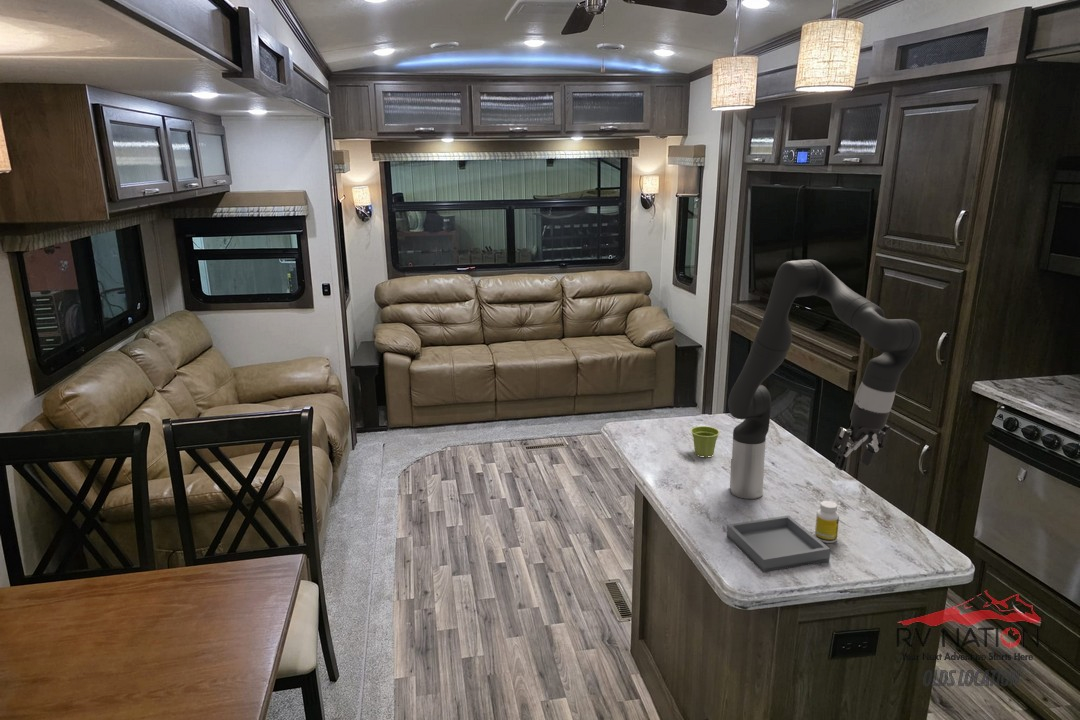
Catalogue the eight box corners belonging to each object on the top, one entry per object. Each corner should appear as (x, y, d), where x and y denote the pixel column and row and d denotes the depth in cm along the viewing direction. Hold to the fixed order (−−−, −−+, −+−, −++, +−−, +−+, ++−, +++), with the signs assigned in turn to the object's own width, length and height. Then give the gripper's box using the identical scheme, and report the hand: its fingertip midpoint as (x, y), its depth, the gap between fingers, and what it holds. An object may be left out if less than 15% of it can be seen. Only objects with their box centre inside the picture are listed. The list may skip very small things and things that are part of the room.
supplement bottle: (839, 544, 179) (842, 509, 176) (816, 542, 180) (819, 508, 177) (834, 534, 184) (837, 500, 181) (813, 532, 185) (815, 498, 182)
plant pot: (722, 452, 239) (723, 428, 236) (713, 462, 231) (713, 437, 229) (696, 447, 243) (696, 424, 241) (686, 457, 236) (686, 433, 234)
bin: (726, 536, 184) (727, 524, 183) (787, 527, 188) (788, 515, 187) (763, 572, 167) (763, 559, 166) (829, 561, 171) (830, 548, 170)
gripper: (881, 394, 162) (862, 454, 168) (836, 399, 156) (817, 461, 162) (908, 408, 156) (887, 471, 162) (862, 414, 150) (842, 478, 156)
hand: (852, 466), depth 162 cm, fingers open, 8 cm apart
